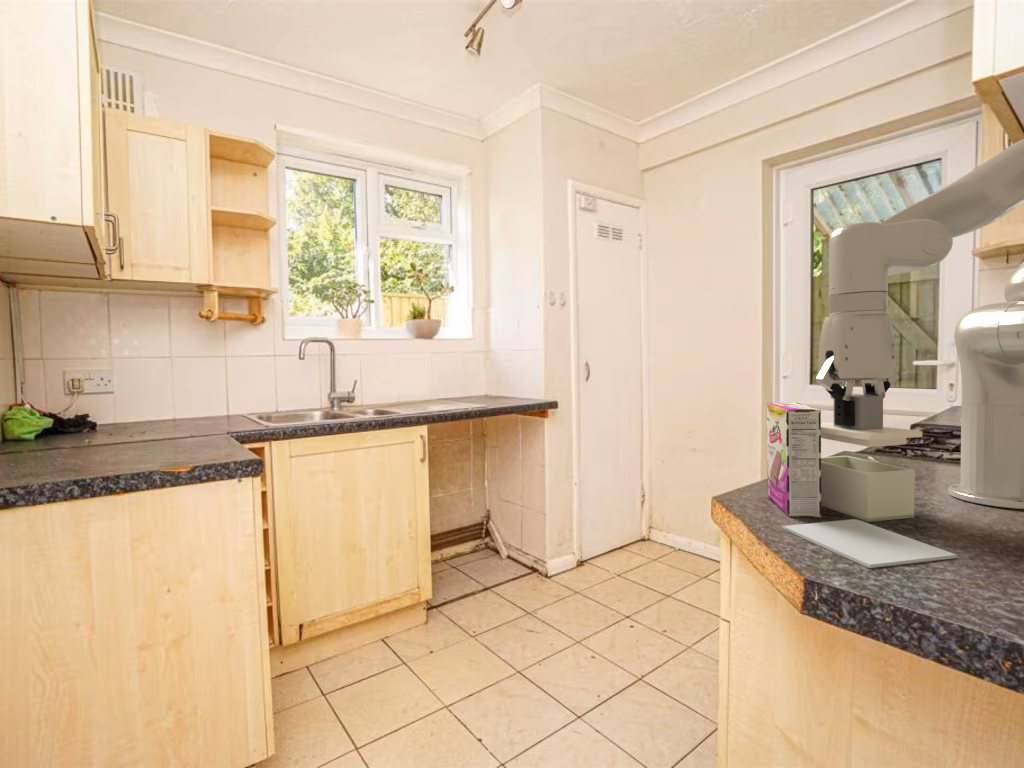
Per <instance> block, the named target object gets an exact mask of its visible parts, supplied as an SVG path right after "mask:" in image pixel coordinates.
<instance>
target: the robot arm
mask: <svg viewBox="0 0 1024 768" xmlns="http://www.w3.org/2000/svg"><path fill="white" fill-rule="evenodd" d="M1022 204H1024V138H1023V139H1020V140H1018V141H1017V142H1015V143H1013V144H1012V145H1010V146H1008V147H1006V148H1005V149H1004V150H1001V151H1000V152H999V153H997V154H996V155H995V156H993V157H992V158H990V159H989V160H987V161H985V162H984V163H982V164H980V165H979V166H978V167H976V168H974V169H973V170H971V171H970V172H968V173H966V174H965V175H963V176H962V177H960V178H958V179H957V180H956V181H953V182H951V183H950V184H948V185H945V186H944V187H942V188H940V189H938V190H936V191H935V192H933V193H932V194H929V195H928V196H927V197H925V198H923V199H920V200H919V201H918V202H915V203H913V204H911V205H910V206H909V207H906V208H904V209H903V210H900V211H899V212H896V213H895V214H893V215H892V216H889V217H888V218H887V219H885V220H883V221H881V222H875V221H869V222H867V221H866V222H858V223H857V222H856V223H851V224H847V225H844V226H840V227H838V228H836V229H834V230H833V231H832V232H831V234H830V236H829V238H828V289H829V290H828V292H829V293H828V303H829V304H828V314H829V315H828V316H825V317H824V320H823V323H822V327H821V332H820V336H819V337H820V338H819V347H818V357H817V358H818V364H817V365H818V366H817V367H818V368H817V373H818V374H817V376H816V378H815V382H816V383H817V384H818V385H820V387H822V388H823V389H825V391H827V393H828V394H829V395H830V399H831V400H833V401H834V400H835V424H836V425H840V426H847V427H854V425H855V401H851V398H852V394H853V391H854V384H855V381H861V388H862V393H863V394H862V395H876V396H883V400H884V399H885V398H886V392H888V390H889V389H890V387H891V386H892V385H894V384H895V383H896V382H898V380H899V379H900V375H899V374H898V372H897V370H896V369H895V367H896V347H895V338H894V337H895V336H894V329H893V325H892V319H891V316H890V315H891V314H889V311H888V309H889V306H890V305H891V301H890V299H889V288H888V287H889V277H891V276H895V275H900V274H901V275H902V274H907V273H908V274H909V273H912V272H918V271H922V270H925V269H928V268H930V267H931V268H932V267H933V266H936V265H937V264H939V263H941V262H942V261H943V260H944V259H945V258H946V257H947V256H949V253H950V252H951V250H952V248H953V243H954V238H957V237H960V236H963V235H967V234H969V233H972V232H974V231H977V230H979V229H981V228H983V227H986V226H989V225H991V224H992V223H995V222H997V221H998V220H1000V219H1001V218H1003V217H1004V216H1006V215H1007V214H1009V213H1010V212H1012V211H1013V210H1015V209H1017V208H1018V207H1019V206H1021V205H1022ZM1003 295H1004V298H1005V300H1006V302H999V303H997V302H996V303H990V304H985V305H982V306H979V307H976V308H974V309H971V310H969V311H968V312H967V313H965V314H964V315H963V316H962V317H961V318H960V319H959V321H958V322H957V323H956V326H955V329H954V334H953V335H954V344H955V345H954V346H955V349H956V352H957V353H956V354H957V357H958V360H959V361H958V362H959V366H960V367H959V368H960V373H961V374H960V375H961V376H960V378H961V416H960V417H961V422H960V423H961V425H960V426H961V427H960V430H961V431H960V476H959V478H960V482H959V483H953V484H950V485H949V486H948V489H947V490H948V491H947V493H948V494H949V495H950V496H951V497H953V498H956V499H959V500H962V501H966V502H969V503H975V504H979V505H984V506H989V507H990V506H991V507H996V508H997V507H998V508H1005V509H1006V508H1007V509H1014V510H1015V509H1016V510H1017V509H1018V510H1024V260H1023V261H1022V262H1021V264H1020V265H1019V266H1018V267H1017V268H1016V269H1015V270H1014V272H1013V273H1012V274H1011V276H1010V277H1009V279H1008V280H1007V283H1006V285H1005V287H1004V294H1003ZM842 386H843V387H842Z"/></svg>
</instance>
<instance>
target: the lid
mask: <svg viewBox="0 0 1024 768" xmlns="http://www.w3.org/2000/svg"><path fill="white" fill-rule="evenodd" d="M851 401H855V425H854V427H847V426H840V425H836V424H835V400H833V422H821V439H823V440H829V441H835V442H840V443H846V444H850V445H851V444H853V445H858V446H862V447H867V448H872V447H873V448H874V447H887V446H888V447H889V446H901V445H907V439H913V438H922V437H923V431H921V430H916V429H915V430H914V429H907V428H902V427H901V428H900V427H894V426H893V427H891V426H884V399H883V396H876V395H864V394H861V393H852V398H851Z"/></svg>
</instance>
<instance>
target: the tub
mask: <svg viewBox="0 0 1024 768" xmlns="http://www.w3.org/2000/svg"><path fill="white" fill-rule="evenodd" d="M915 474H916V470H915V469H911V468H907V467H901V466H896V465H892V464H887V463H882V462H879V461H873V460H868V459H865V458H860V457H855V456H850V455H838V456H837V455H835V456H824V457H823V456H821V507H824V508H827V509H830V510H833V511H834V512H835V511H836V512H838V513H842V514H844V515H847V516H850V517H853V518H854V519H857V520H860V521H863V522H866V523H870V522H871V523H873V522H880V521H881V522H882V521H889V520H890V521H891V520H901V519H902V520H903V519H911V518H912V519H914V518H915V496H916V495H915V494H916V493H915V491H916V490H915V489H916V488H915V486H916V485H915V484H916V483H915V481H916V478H915V476H916V475H915Z"/></svg>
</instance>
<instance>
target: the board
mask: <svg viewBox="0 0 1024 768" xmlns="http://www.w3.org/2000/svg"><path fill="white" fill-rule="evenodd" d="M781 529H782V530H784V531H786V532H788V533H791V534H793V535H795V536H797V537H799V538H802V539H804V540H805V541H808V542H811V543H813V544H815V545H817V546H819V547H821V548H824V549H826V550H829V551H830V552H833V553H835V554H837V555H839V556H841V557H844V558H846V559H848V560H850V561H853V562H855V563H856V564H859V565H862V566H863V567H866V568H868V569H875V568H882V567H891V566H900V565H908V564H917V563H925V562H933V561H941V560H943V561H944V560H950V559H957V554H955V553H954V552H951V551H947V550H944V549H942V548H939V547H936V546H934V545H930V544H928V543H924V542H923V541H919V540H916V539H913V538H911V537H908V536H904V535H902V534H899V533H897V532H893V531H891V530H887V529H885V528H882V527H879V526H877V525H875V524H870V522H866V521H864V520H861V519H858V518H854V519H853V518H851V519H843V520H832V521H820V522H811V523H802V524H790V525H782V526H781Z"/></svg>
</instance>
